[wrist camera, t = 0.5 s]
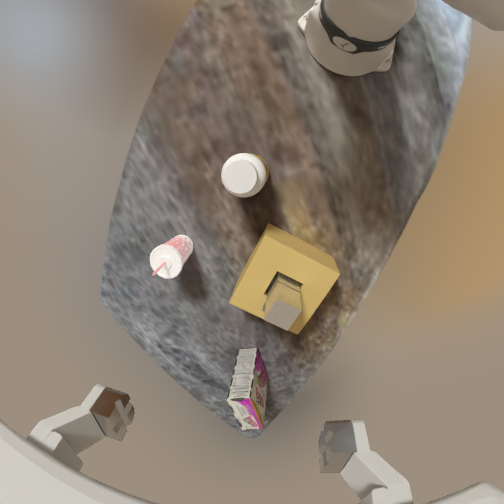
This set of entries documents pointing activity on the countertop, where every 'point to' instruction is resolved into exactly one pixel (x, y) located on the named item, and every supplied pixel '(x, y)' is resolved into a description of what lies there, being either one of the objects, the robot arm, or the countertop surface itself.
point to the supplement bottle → (244, 174)
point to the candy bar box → (248, 389)
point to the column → (282, 301)
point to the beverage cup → (171, 256)
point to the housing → (290, 264)
